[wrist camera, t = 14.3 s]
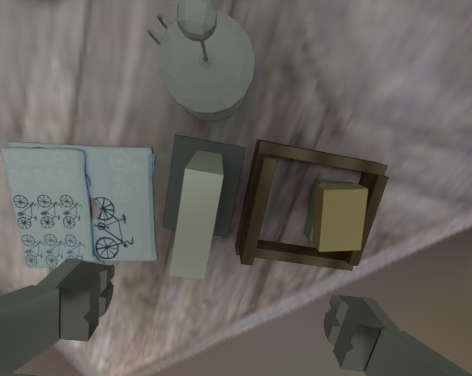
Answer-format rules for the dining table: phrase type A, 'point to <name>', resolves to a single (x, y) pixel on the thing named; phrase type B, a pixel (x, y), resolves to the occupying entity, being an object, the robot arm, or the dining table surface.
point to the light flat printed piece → (82, 202)
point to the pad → (231, 170)
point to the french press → (205, 60)
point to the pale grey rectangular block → (197, 215)
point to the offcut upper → (339, 217)
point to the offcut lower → (310, 216)
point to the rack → (258, 198)
